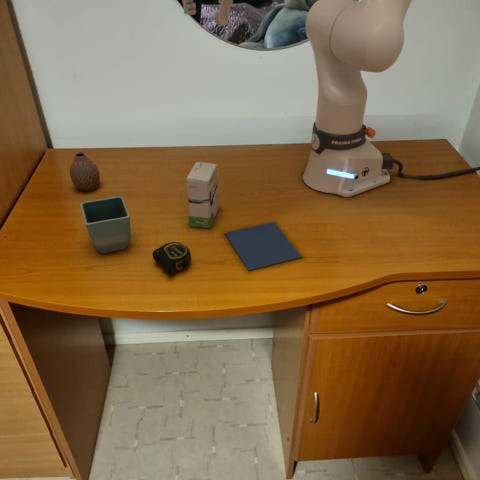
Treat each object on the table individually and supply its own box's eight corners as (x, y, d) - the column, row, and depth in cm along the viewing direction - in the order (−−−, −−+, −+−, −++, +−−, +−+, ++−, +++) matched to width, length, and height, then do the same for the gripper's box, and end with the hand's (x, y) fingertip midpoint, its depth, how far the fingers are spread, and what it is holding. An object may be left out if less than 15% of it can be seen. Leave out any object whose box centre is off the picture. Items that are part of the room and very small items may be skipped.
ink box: (210, 229, 108) (208, 181, 100) (189, 226, 109) (185, 178, 101) (219, 209, 114) (217, 162, 106) (199, 206, 115) (196, 159, 107)
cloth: (273, 223, 110) (273, 221, 110) (301, 258, 101) (301, 256, 101) (224, 234, 107) (224, 233, 107) (248, 271, 98) (248, 269, 97)
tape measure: (152, 262, 100) (149, 247, 97) (181, 251, 102) (179, 236, 100) (168, 280, 96) (165, 265, 93) (197, 267, 98) (196, 253, 96)
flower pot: (128, 230, 108) (122, 194, 102) (136, 252, 102) (130, 216, 96) (89, 238, 106) (79, 202, 99) (94, 261, 100) (85, 224, 94)
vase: (68, 191, 120) (59, 158, 114) (84, 178, 125) (76, 146, 119) (91, 196, 118) (83, 163, 112) (107, 183, 123) (100, 150, 117)
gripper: (259, -75, 74) (256, 28, 83) (181, -86, 85) (186, 6, 94) (227, -72, 71) (228, 34, 80) (150, -83, 82) (160, 11, 91)
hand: (205, 19), depth 87 cm, fingers open, 8 cm apart
